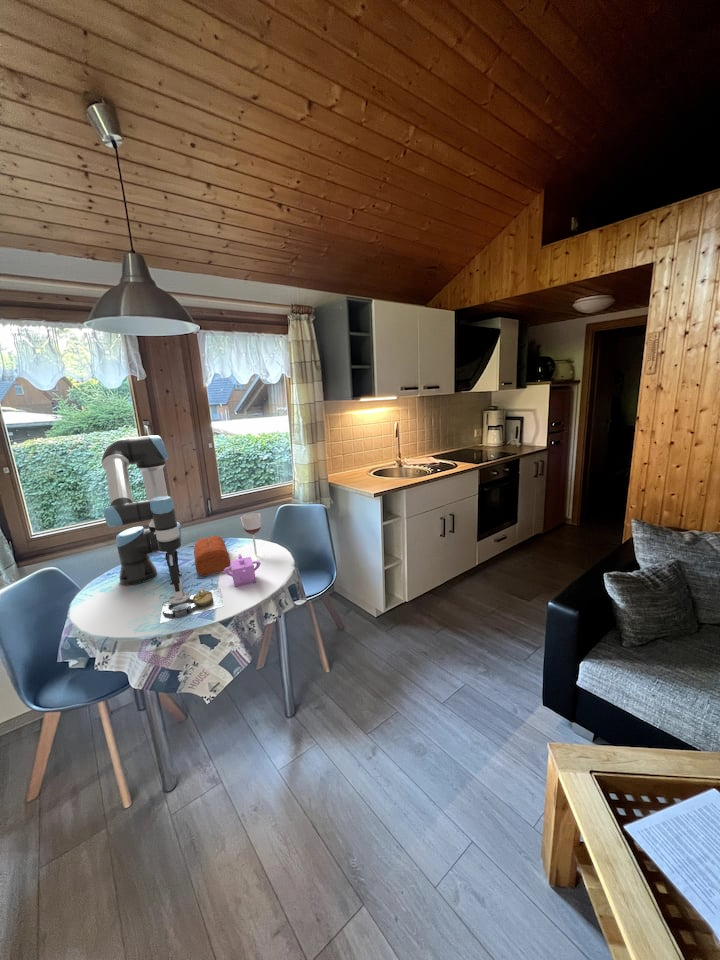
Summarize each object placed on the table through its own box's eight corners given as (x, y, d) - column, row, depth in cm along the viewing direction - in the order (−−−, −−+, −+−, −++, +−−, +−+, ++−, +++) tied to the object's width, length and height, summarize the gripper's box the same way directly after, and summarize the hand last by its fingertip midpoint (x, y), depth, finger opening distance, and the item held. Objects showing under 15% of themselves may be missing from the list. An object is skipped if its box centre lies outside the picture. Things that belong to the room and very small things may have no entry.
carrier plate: (163, 605, 154) (162, 599, 153) (221, 591, 162) (220, 585, 161) (160, 626, 139) (159, 620, 139) (224, 609, 148) (223, 603, 147)
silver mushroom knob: (170, 598, 150) (166, 578, 148) (189, 593, 152) (186, 573, 151) (169, 606, 144) (165, 586, 142) (190, 601, 146) (186, 581, 144)
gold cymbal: (193, 599, 154) (192, 589, 153) (212, 595, 156) (210, 585, 155) (194, 608, 147) (192, 597, 146) (213, 603, 150) (211, 592, 149)
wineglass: (263, 560, 190) (257, 518, 185) (244, 561, 190) (238, 519, 185) (267, 553, 198) (262, 512, 194) (249, 554, 199) (243, 513, 194)
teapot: (220, 586, 166) (216, 563, 164) (242, 573, 178) (239, 551, 175) (247, 593, 159) (243, 568, 157) (268, 578, 171) (265, 555, 168)
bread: (197, 578, 176) (193, 556, 174) (194, 557, 200) (191, 538, 198) (232, 569, 182) (229, 549, 180) (226, 550, 206) (223, 532, 204)
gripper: (158, 533, 148) (169, 589, 153) (155, 547, 134) (167, 608, 139) (179, 529, 151) (189, 584, 156) (179, 543, 137) (190, 603, 142)
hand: (179, 595), depth 148 cm, fingers closed on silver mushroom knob, 3 cm apart
